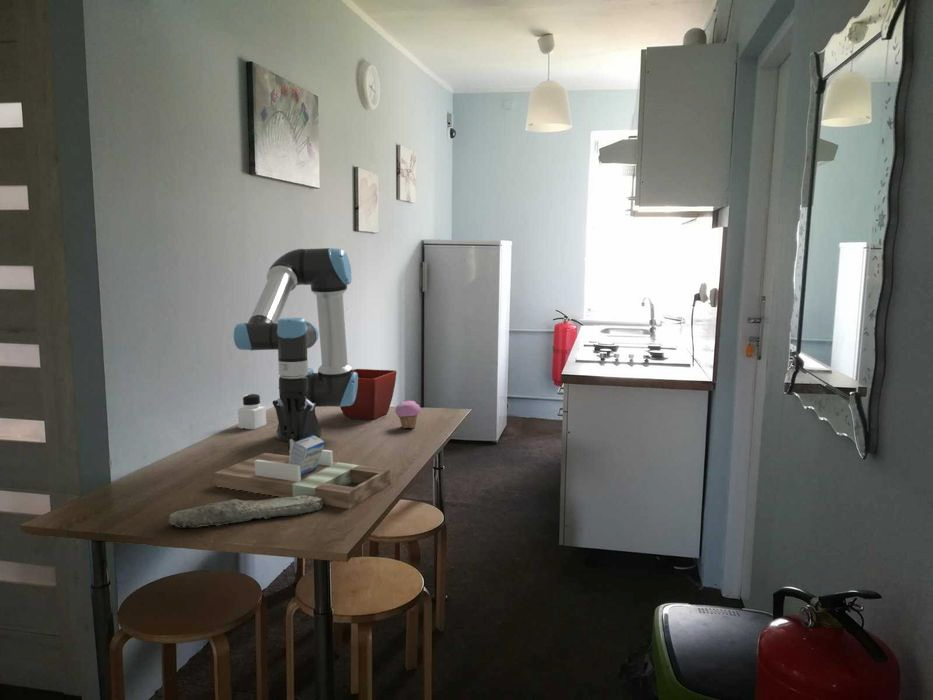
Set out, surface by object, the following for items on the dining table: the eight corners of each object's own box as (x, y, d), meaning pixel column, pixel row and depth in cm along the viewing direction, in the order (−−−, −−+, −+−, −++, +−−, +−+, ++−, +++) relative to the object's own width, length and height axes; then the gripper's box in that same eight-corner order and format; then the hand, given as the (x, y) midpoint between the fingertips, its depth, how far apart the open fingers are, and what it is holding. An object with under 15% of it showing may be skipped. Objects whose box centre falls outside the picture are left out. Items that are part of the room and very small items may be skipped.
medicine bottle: (266, 425, 248) (265, 393, 246) (254, 429, 241) (253, 397, 240) (250, 423, 250) (248, 392, 249) (238, 428, 244) (236, 396, 242)
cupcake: (421, 424, 245) (420, 398, 244) (420, 430, 237) (419, 403, 235) (396, 425, 245) (396, 398, 244) (395, 431, 236) (394, 403, 235)
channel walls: (292, 459, 191) (291, 445, 190) (333, 464, 185) (332, 450, 185) (255, 475, 177) (254, 460, 176) (298, 481, 171) (297, 466, 171)
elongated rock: (325, 520, 160) (320, 508, 169) (325, 498, 160) (321, 487, 169) (167, 533, 149) (171, 520, 158) (166, 510, 148) (171, 498, 158)
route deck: (265, 465, 198) (265, 452, 198) (390, 483, 181) (390, 469, 180) (215, 486, 180) (214, 472, 180) (349, 508, 163) (348, 493, 162)
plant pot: (331, 419, 256) (329, 376, 253) (357, 408, 273) (355, 368, 271) (375, 423, 249) (373, 378, 246) (399, 412, 266) (397, 370, 264)
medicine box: (298, 477, 174) (307, 449, 172) (285, 469, 176) (294, 441, 174) (317, 469, 182) (325, 441, 179) (304, 461, 183) (313, 434, 181)
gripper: (264, 376, 176) (267, 462, 179) (303, 380, 171) (306, 469, 174) (283, 372, 183) (285, 455, 186) (321, 375, 178) (323, 461, 181)
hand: (295, 462), depth 180 cm, fingers closed
